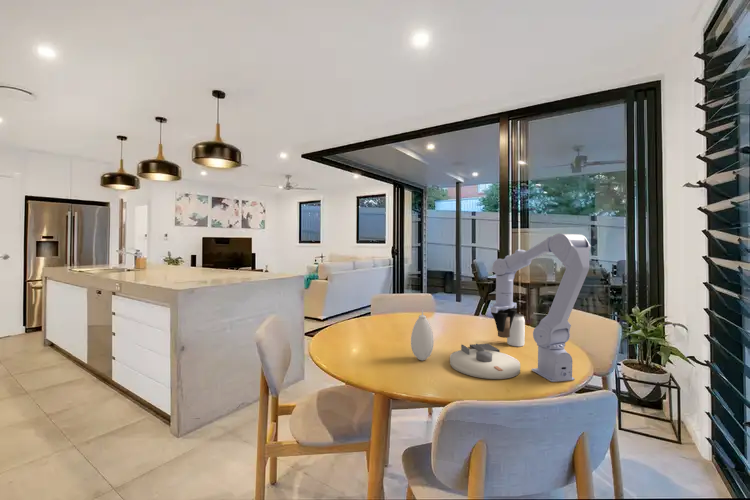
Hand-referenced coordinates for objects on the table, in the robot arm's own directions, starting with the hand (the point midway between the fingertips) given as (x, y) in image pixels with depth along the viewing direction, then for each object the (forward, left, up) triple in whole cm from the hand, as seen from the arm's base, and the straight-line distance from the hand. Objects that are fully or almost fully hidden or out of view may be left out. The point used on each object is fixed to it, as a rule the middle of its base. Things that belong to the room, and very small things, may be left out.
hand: (503, 330), depth 123 cm
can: (+12, -13, -10) cm, 20 cm away
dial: (-8, +12, -9) cm, 17 cm away
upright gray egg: (+2, +30, -10) cm, 32 cm away
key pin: (0, 0, -2) cm, 2 cm away
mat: (+8, +3, -9) cm, 13 cm away
